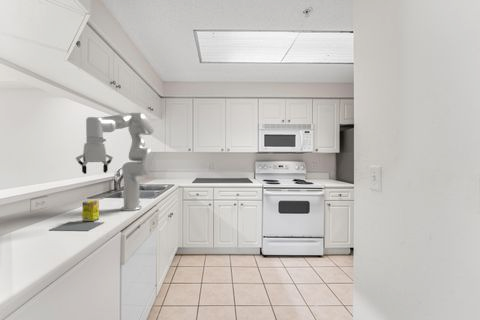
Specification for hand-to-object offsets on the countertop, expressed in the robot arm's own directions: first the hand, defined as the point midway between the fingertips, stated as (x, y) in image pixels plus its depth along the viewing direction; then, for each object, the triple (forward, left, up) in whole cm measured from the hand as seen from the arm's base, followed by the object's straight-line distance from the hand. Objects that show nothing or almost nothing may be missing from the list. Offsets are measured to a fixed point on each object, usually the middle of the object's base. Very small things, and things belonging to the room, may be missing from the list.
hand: (95, 172), depth 130 cm
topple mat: (+6, -5, -27) cm, 28 cm away
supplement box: (-4, -5, -27) cm, 28 cm away
